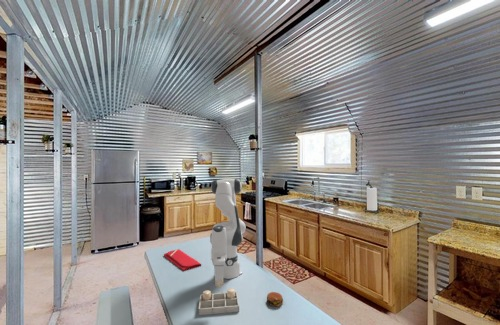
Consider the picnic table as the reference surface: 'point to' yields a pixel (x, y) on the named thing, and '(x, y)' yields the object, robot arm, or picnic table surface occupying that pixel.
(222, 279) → the egg
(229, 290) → the egg
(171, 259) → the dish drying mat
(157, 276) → the picnic table surface
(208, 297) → the egg
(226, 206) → the robot arm
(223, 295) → the carton
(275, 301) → the burger
